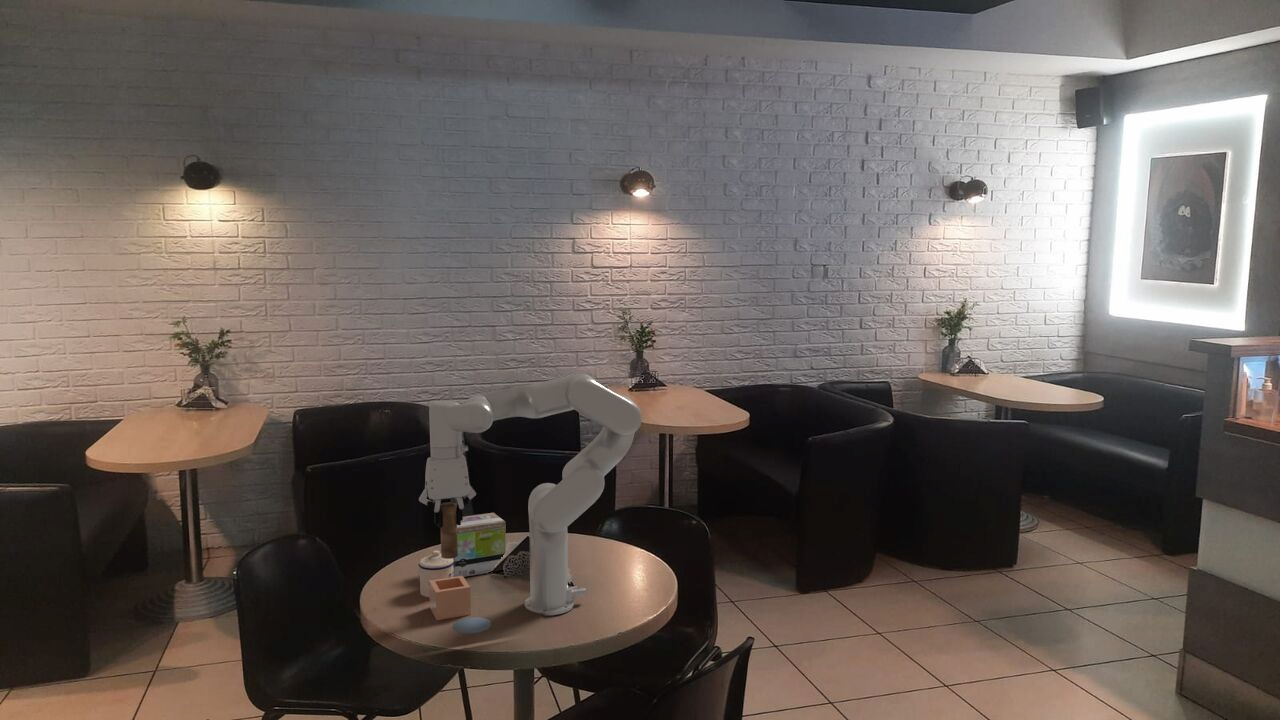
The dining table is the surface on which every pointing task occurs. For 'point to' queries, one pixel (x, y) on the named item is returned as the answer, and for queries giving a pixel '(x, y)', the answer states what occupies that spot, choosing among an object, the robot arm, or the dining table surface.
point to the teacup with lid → (434, 570)
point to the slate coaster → (472, 625)
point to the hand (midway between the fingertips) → (448, 524)
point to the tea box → (479, 544)
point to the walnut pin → (449, 530)
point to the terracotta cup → (449, 597)
